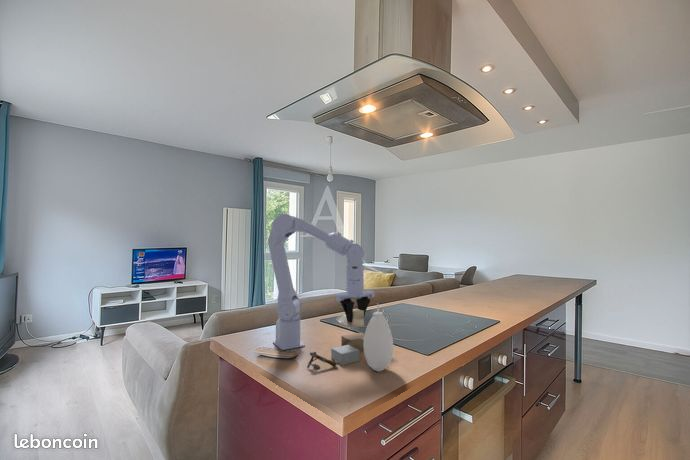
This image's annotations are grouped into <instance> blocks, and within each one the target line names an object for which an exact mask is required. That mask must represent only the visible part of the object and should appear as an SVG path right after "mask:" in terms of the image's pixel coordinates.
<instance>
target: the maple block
mask: <svg viewBox="0 0 690 460" xmlns="http://www.w3.org/2000/svg"><path fill="white" fill-rule="evenodd" d="M346 325H347V326H349V327H351V328H359V327H365V316H364V310H360V309H358V308H353V318H352V322H351V323H350V322H347V321H346Z"/></svg>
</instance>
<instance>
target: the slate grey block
mask: <svg viewBox="0 0 690 460" xmlns="http://www.w3.org/2000/svg"><path fill="white" fill-rule="evenodd" d="M330 351H331V355H330V356H331V359H332V361H335V360H337V364H339V365H341V366H343V365H347V364H351V363H355V362H359V361H360V351H359V350H358V349H356V348H354V347H352V346H350V345H344V346H342V345H340V346H335V347H331V349H330Z"/></svg>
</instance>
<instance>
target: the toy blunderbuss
mask: <svg viewBox="0 0 690 460" xmlns="http://www.w3.org/2000/svg"><path fill="white" fill-rule="evenodd" d="M309 355H310V357H311V358H310V359H309V362H308V363H307V367H306V368H307V369H310V366H311V367H313V369H317V370H318V369H321V366H320V364H317V363H316V362H315V363H313V362H314V361H316V360H319V361H320V362H323V363H326V364H328V365H329V366H332V367H333V369H336V367H337V365H338V362H337V360H330V359H327V358H326V357H324V356H322V355H319V354H317V351H312V352H311V351H310V352H309Z"/></svg>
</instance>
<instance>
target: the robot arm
mask: <svg viewBox="0 0 690 460" xmlns="http://www.w3.org/2000/svg"><path fill="white" fill-rule="evenodd" d="M296 232H298V233H300V232H302V233H307V234H309V235H310V236H313V237H315V238H316V239H319V240H321V241H323V242H324V243H325V246H326V248H327V249H330V250H331V251H334V252H335V253H337V254H339V255H341V256H346V259H347V261H346V264H347V265H346V292H342V293H337V294H336V293H335V294H334V300H335V301H336V302H340V305H341V307H342V308H343V310H344V313H345V318H346V323H347V322H350V323H351V322H352V318H353V309H354V305H355V302H354V301H352V300H355V301H356V304H357V305H356V306H357V309H360V310H364V317H365V316H366V311H367V309H368V307H369V304H370V303H371V299H370V298H375V291H373V290H364V289H365V288H364V287H365V286H364V284H365V283H364V282H365V280H364V278H365V277H364V273H365V271H364V260H363V259H364V258H363V257H364V253H365V252H364V249H363V247H362V246H361V245H360V244H358V243H354V242H355V241H354V240H353V239H348V238H346V237H345V236H342V233H341V232H335V231H334V232H333V231H332V232H330V233H328V232H326V231H325V230H323V229H321V228H320V227H318V226H317V225H314V224H312V223H311V222H309V221H307V220H305V219H302V218H299V217H297V216H293V215H290V214H288V213H285V212H284V213H280V214H279V215H277V216H276V217H275V218H274V220H273V221H272V222H271V230H270V232H269V236H268V238H267V244H268V248H269V253H270V258H271V262H272V267H273V270H274V276H275V281H276V287H277V291H278V294H277V298H276V299H277V309H276V313H277V316H278V319H277V320H276V322H275V340H272V343H273V344H274V345H275V346H276V347H278V348H279V349H280V350H282V351H285V350H290V349H291V350H292V349H296V348H301V347H305V346H306V345H305V343H303V342H302V341H301V315H300V311H301V310H302V301H301V300H300V299H299V297H298V295H297V291H296V289H295V288H294V283H293V279H292V275H291V270H290V266H289V260H288V256H287V252H286V248H285V247H286V246H285V243H286V242H287V240H288V239H289V237H290V236H292V235H294V234H295V233H296Z"/></svg>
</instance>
